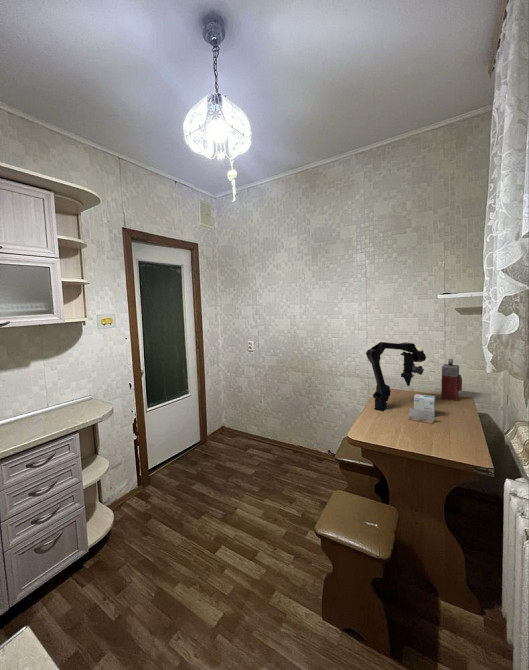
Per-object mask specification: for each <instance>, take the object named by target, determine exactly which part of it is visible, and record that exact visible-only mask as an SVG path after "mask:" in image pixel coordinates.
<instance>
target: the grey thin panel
mask: <svg viewBox="0 0 529 670" xmlns="http://www.w3.org/2000/svg"><path fill="white" fill-rule="evenodd" d="M408 409H409V411H408V413H409V418H415V419H421V420H427V421H433V422H434V423H435V416H434V411H428V410H421V409H415V408H414V407H409V408H408ZM409 418H408V419H409Z"/></svg>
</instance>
